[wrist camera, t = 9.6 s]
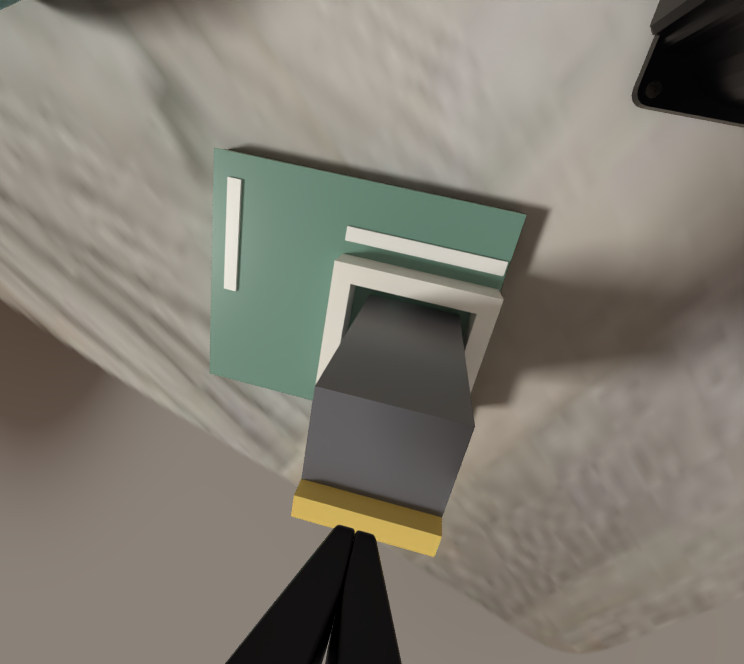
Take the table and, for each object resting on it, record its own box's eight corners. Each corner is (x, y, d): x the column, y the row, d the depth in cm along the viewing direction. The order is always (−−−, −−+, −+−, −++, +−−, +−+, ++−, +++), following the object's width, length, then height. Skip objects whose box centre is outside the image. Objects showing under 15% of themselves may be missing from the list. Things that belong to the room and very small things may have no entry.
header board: (521, 212, 16) (535, 218, 13) (449, 424, 20) (450, 456, 18) (226, 149, 17) (192, 144, 14) (219, 364, 21) (192, 387, 19)
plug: (459, 314, 16) (477, 442, 8) (436, 392, 18) (433, 559, 10) (364, 293, 17) (296, 396, 9) (350, 370, 18) (282, 516, 10)
